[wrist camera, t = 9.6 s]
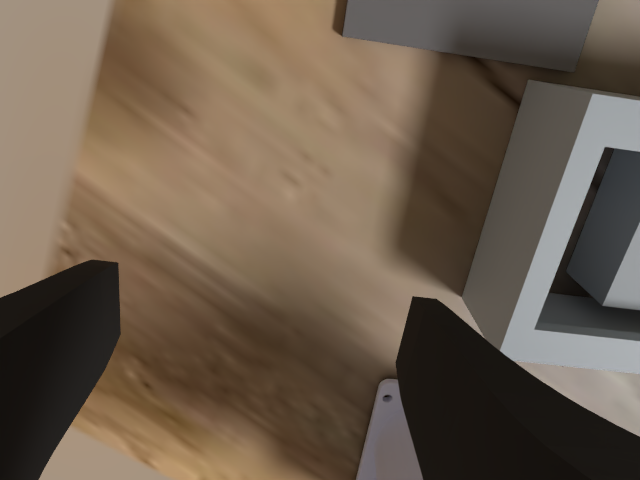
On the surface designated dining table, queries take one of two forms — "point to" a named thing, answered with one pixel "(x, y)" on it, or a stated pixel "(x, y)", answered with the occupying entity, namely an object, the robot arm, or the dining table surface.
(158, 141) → the dining table surface
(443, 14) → the mat
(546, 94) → the slot box
